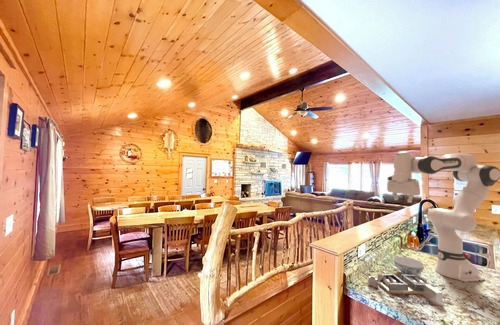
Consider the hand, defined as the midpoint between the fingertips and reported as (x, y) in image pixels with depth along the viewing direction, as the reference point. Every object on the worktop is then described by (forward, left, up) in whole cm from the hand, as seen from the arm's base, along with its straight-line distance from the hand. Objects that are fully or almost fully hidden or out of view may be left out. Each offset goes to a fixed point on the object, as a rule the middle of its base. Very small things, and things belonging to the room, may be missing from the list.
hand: (402, 201), depth 129 cm
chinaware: (-4, -1, -45) cm, 45 cm away
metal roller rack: (+9, +14, -44) cm, 47 cm away
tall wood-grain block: (+3, +25, -44) cm, 51 cm away
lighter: (+24, +14, -45) cm, 52 cm away
